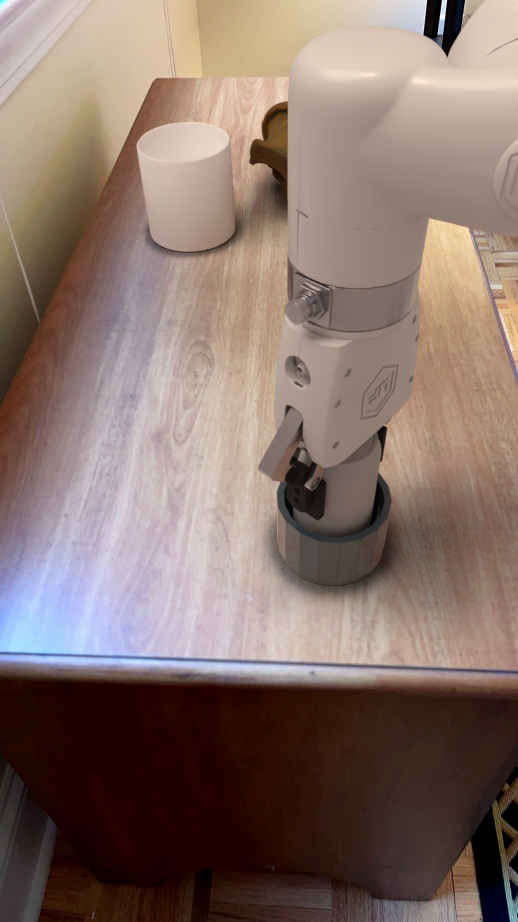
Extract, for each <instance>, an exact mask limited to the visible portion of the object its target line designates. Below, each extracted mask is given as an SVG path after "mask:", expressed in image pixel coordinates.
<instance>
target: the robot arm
mask: <svg viewBox="0 0 518 922" xmlns="http://www.w3.org/2000/svg"><path fill="white" fill-rule="evenodd" d="M287 101H288V204H287V253H286V258H287V261H286V262H287V264H286V265H287V267H286V269H287V271H286V272H287V273H286V276H287V277H286V278H287V279H286V289H287V290H286V294H287V297H286V298H287V300H286V304H285V306H284V313H285V315H284V319H283V323H282V328H281V333H280V339H279V345H278V353H277V361H276V368H275V369H276V370H275V379H274V381H275V382H274V398H273V399H274V400H273V401H274V402H273V405H274V407H273V409H274V410H273V412H274V427H275V428H274V429H275V434H274V437H273V439H272V440H271V442H270V444H269V446H268V448H267V449H266V452H265V453H264V455H263V457H262V459H261V460H260V462H259V464H258V466H257V471H258V472H259V473H261V474H263V475H264V476H266V477H267V478H269V480H272V481H273V482H278V483H280V482H283V483H284V482H287V499H288V501H289V502H290V504H291V505H292V506H293V507H294V508H295V509H296V510H298V511H299V512H302V513H304V512H305V513H307V514H308V515H310V516H311V517H313V518H314V519H315V520H320V519H321V518H322V517H323V516H324V512H325V498H326V482H325V481H324V480H323V479H322V475H323V473H324V470H325V468H329V467H333V466H335V465H337V464H339V463H341V462H342V461H344V460H345V459H346V458H347V457H349V456H350V455H351V454H352V453H353V452H354V451H356V450H357V449H358V448H359V447H360V446H361V445H362V444H363V443H365V442H366V441H367V440H368V439H369V438H370V437H371V436H372V435H374V434H375V433H376V432H377V434H378V439H379V441H380V444H381V458H380V463H382V462H383V460H384V459H383V458H384V454H385V453H384V452H385V446H386V440H387V433H388V427H387V424H389V423H390V421H391V420H392V419H393V417H395V415H396V414H398V412H400V410H401V409H403V407H405V405H406V404H407V402H408V401H409V399H410V398H411V395H412V390H413V385H414V379H415V373H416V366H417V357H418V349H419V336H420V326H421V325H420V323H421V322H420V321H421V308H420V307H421V306H420V305H421V304H420V303H421V302H420V291H419V282H420V276H421V269H422V263H423V257H424V252H425V246H426V239H427V235H428V234H427V233H428V228H429V222H430V220H434V221H439V222H443V223H447V224H452V225H456V226H459V227H464V228H467V229H472V230H476V231H479V232H484V233H489V234H492V235H493V234H494V235H499V236H505V237H513V238H518V0H484V1H483V2H482V3H481V4H480V5H479V6H478V8H477V9H476V10H475V11H474V12H473V13H472V15H471V16H470V18H469V19H468V20H467V22H466V23H465V25H464V26H463V27H462V29H461V30H460V32H459V34H458V35H457V37H456V39H455V40H454V42H453V43H452V46H451V47H450V49H449V52H448V55H446V53H445V52H444V50H443V49H442V47H441V46H440V45H438V43H437V42H435V41H434V40H433V39H431V38H430V37H428V36H426V35H423V34H420V33H417V32H415V31H412V30H409V29H408V30H407V29H404V28H398V27H393V26H392V27H391V26H384V25H383V26H381V25H380V26H378V25H364V26H362V25H361V26H351V27H350V26H349V27H345V28H344V27H343V28H338V29H335V30H332V31H331V30H330V31H328V32H325V33H322V34H320V35H318V36H315V37H313V38H312V39H311V40H309V41H308V42H307V43H305V44H304V45H303V46H302V47H301V48H300V49H299V51H298V52H297V54H296V56H295V57H294V58H293V61H292V65H291V68H290V71H289V75H288V88H287ZM302 449H303V450H304V451H306V452H308V453H309V456H310V458H311V460H312V463H311V465H310V467H309V466H307V465H306V464H304V463H303V462H301V461H298V459H299V456H300V453H301V450H302Z"/></svg>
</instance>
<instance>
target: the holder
mask: <svg viewBox="0 0 518 922" xmlns="http://www.w3.org/2000/svg"><path fill="white" fill-rule="evenodd" d="M392 504H393V500H392V495H391V490H390V487H389V484H388V482H387V481H386V480H385V479H384V477H383V476H382V474H381V473H380V472H379V471H378V478H377V485H376V491H375V498H374V505H373V511H372V518H371V524H370V527H368V528H367V529H365V530H363V531H361V532H359V533H358V534H353V535H348V536H343V537H332V536H322V535H319V534H317V533H314V532H312V531H309V530H306V529H304V528H303V527H302V526H301V525H300V524H298V523H297V522H296V521H295V520H294V519H293V506H292V505H291V504H290V502H289V501H288V499H287V482H284V483H283V482H279V484H278V487H277V489H276V533H277V534H276V535H277V548H278V552H279V554H280V556H281V558H282V560H283V561H284V563H285V564H286V566H287V567H288V568H289V569H290V570H291V571H292V572H294V574H296V575H297V576H299V577H300V578H302V579H304V580H305V581H309V582H311V583H314V584H317V585H321V586H322V585H323V586H344V585H348V584H351V583H355V582H357V581H360V580H361V579H363V578H364V577H366V576H368V575H369V574H370V573H372V571H374V569H375V568H376V567H377V565H378V564H379V562H380V560H381V558H382V555H383V551H384V547H385V543H386V538H387V532H388V527H389V520H390V516H391V509H392Z"/></svg>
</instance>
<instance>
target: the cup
mask: <svg viewBox="0 0 518 922" xmlns="http://www.w3.org/2000/svg"><path fill="white" fill-rule="evenodd" d="M136 153H137V158H138V159H137V160H138V166H139V172H140V178H141V184H142V191H143V198H144V203H145V207H146V208H145V209H146V216H147V222H148V228H149V233H150V237H151V239H152V240H153V241H154V243H156V244H157V245H159V246H161V247H163V248H165V249H167V250H169V251H170V250H171V251H173V252H174V251H175V252H180V253H181V252H183V253H194V252H203V251H207V250H211V249H214V248H217V247H219V246H221V245H223V244H224V243H226V242H227V241H228V240H230V239H231V238H232V237H233V236H234V234H235V231H236V209H235V194H234V193H235V192H234V177H233V175H234V174H233V161H232V160H233V159H232V142H231V136H230V135H229V133H228V132H227V131H226V130H225V129H224V128H221V127H219V126H217V125H214V124H211V123H205V122H199V121H182V122H173V123H168V124H164V125H160V126H157V127H154V128H152V129H150V130H148V131H146V132H145V133H144V134H142V135H141V136H140V138H139V139H138V140H137V142H136Z"/></svg>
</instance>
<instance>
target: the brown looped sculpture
mask: <svg viewBox="0 0 518 922" xmlns="http://www.w3.org/2000/svg"><path fill="white" fill-rule="evenodd" d="M261 136H262V139H261V138H254V139H253V140H252V141H251V145H250V147H249V159H248V164H249V165H251V166H255V165H257V164H261V165H262V164H263V165H266V166H267V167H268V168H269V169H271V175H272V176H273V178H274V179H275V180H276V181H277V182H278V184H279V186H281V187H282V195H281V196H282V200H283V202H284V203H285V204H287V205H288V100H286V101H282V102H281V101H280V102H278V103H276V104H274V105H272V106H271V107H270V108H269V109H268V110H267V112H265V114H264V117H263V120H262V121H261Z"/></svg>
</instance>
